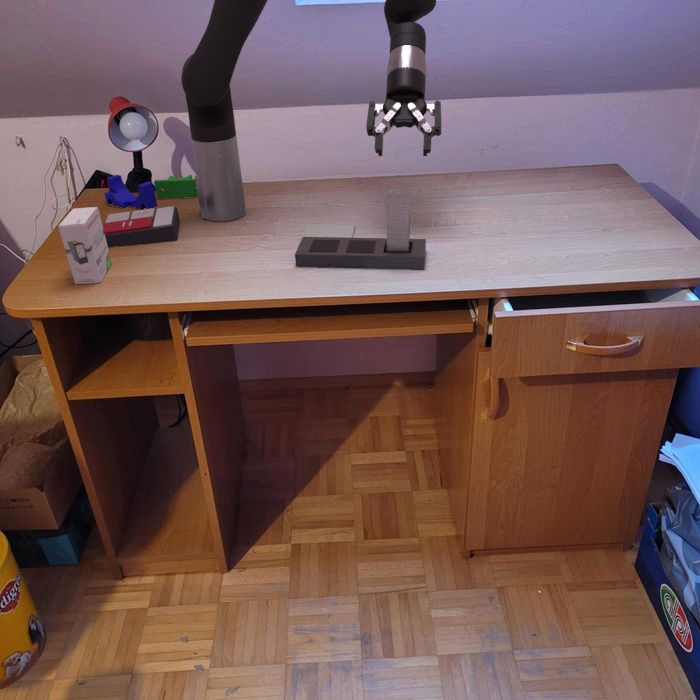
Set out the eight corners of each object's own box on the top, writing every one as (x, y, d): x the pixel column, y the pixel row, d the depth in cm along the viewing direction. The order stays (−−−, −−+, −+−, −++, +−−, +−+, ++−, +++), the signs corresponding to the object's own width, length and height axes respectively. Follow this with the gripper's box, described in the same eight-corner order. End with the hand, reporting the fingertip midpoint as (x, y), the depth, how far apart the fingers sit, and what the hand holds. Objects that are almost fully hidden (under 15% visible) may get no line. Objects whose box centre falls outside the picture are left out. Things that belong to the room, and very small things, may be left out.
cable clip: (107, 205, 158) (101, 180, 154) (122, 199, 161) (116, 174, 157) (143, 214, 152) (137, 188, 149) (157, 207, 155) (152, 182, 152)
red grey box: (105, 212, 144) (176, 203, 145) (111, 231, 146) (180, 221, 148) (97, 233, 135) (172, 222, 136) (104, 252, 137) (177, 241, 138)
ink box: (87, 264, 130) (71, 206, 124) (113, 263, 130) (98, 205, 124) (74, 285, 123) (56, 225, 117) (101, 283, 123) (84, 223, 117)
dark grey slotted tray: (295, 266, 126) (294, 253, 125) (303, 248, 133) (302, 236, 131) (424, 269, 123) (424, 256, 122) (425, 250, 130) (425, 238, 128)
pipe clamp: (207, 193, 162) (204, 174, 160) (204, 198, 159) (201, 179, 156) (161, 194, 162) (157, 175, 160) (157, 199, 159) (153, 181, 157)
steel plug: (386, 263, 126) (386, 197, 118) (388, 254, 129) (388, 189, 122) (408, 264, 125) (408, 197, 118) (409, 255, 128) (410, 189, 121)
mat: (299, 246, 134) (299, 244, 133) (308, 226, 142) (308, 224, 142) (349, 247, 132) (349, 245, 132) (355, 227, 141) (355, 225, 140)
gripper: (368, 66, 127) (363, 144, 124) (443, 64, 125) (440, 144, 122) (371, 89, 135) (367, 163, 131) (443, 88, 133) (440, 163, 130)
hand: (402, 154), depth 127 cm, fingers open, 8 cm apart
